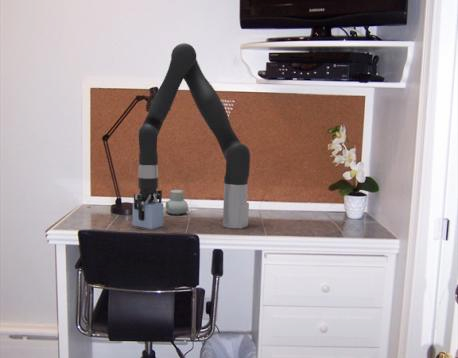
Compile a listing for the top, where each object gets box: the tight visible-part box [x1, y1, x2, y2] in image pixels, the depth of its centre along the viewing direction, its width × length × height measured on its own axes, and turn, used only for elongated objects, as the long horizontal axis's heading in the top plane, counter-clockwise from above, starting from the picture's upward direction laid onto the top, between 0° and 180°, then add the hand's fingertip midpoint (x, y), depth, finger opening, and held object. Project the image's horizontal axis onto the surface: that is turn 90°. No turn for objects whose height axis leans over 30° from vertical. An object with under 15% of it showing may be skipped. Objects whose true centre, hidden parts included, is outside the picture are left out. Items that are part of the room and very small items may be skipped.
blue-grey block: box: [132, 201, 164, 229], centre depth 197 cm, size 10×7×9 cm
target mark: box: [131, 224, 165, 231], centre depth 198 cm, size 10×8×1 cm
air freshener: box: [165, 189, 189, 216], centre depth 222 cm, size 11×8×10 cm
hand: (148, 218), depth 197 cm, fingers closed on blue-grey block, 6 cm apart
